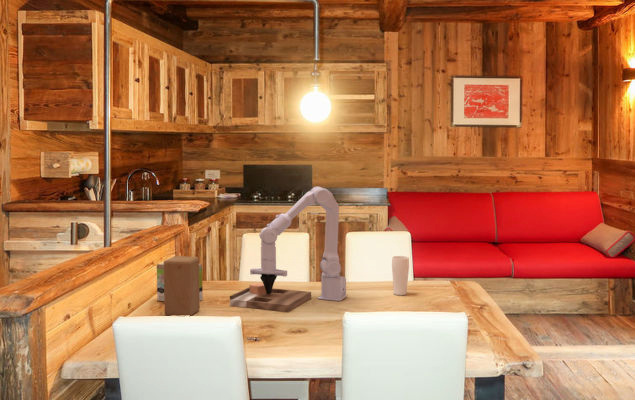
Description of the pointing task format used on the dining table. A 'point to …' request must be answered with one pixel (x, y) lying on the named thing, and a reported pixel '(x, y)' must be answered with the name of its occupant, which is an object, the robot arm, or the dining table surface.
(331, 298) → the robot arm
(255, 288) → the terracotta block
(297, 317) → the dining table surface
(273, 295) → the trap board
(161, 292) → the tea box
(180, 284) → the wooden block
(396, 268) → the drinking glass
